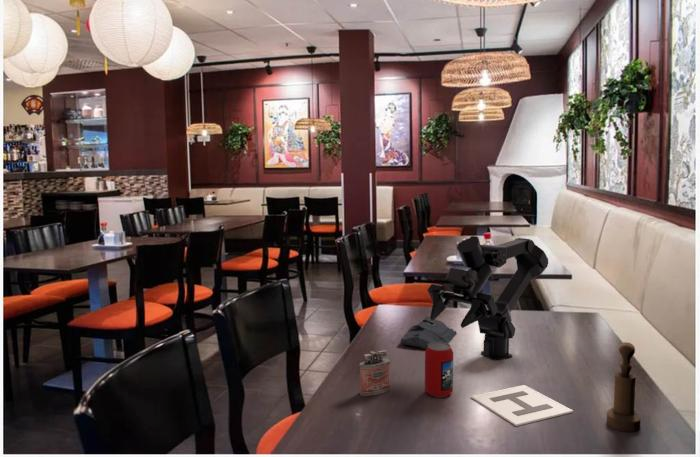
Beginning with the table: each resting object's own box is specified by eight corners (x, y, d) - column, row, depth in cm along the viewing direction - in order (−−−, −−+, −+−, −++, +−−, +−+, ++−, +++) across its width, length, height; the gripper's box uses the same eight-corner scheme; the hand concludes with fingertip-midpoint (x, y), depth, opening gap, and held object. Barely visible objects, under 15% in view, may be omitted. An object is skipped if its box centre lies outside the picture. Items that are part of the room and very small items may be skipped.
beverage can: (452, 400, 135) (453, 350, 133) (423, 397, 136) (424, 349, 135) (453, 388, 141) (453, 341, 140) (425, 386, 143) (426, 340, 141)
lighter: (363, 397, 137) (363, 356, 135) (357, 392, 140) (356, 352, 138) (392, 390, 140) (392, 351, 139) (385, 385, 143) (385, 347, 142)
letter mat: (524, 386, 142) (524, 384, 142) (573, 412, 128) (573, 410, 128) (471, 397, 136) (471, 395, 136) (516, 426, 121) (516, 423, 121)
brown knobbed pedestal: (600, 418, 125) (604, 338, 122) (628, 417, 125) (633, 337, 123) (617, 433, 118) (621, 348, 116) (646, 431, 119) (651, 347, 116)
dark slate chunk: (392, 347, 174) (392, 332, 173) (414, 327, 194) (414, 314, 193) (441, 354, 167) (441, 338, 167) (459, 332, 187) (459, 318, 187)
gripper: (435, 254, 155) (405, 294, 147) (497, 262, 142) (468, 307, 134) (448, 283, 161) (420, 323, 153) (508, 294, 148) (481, 338, 140)
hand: (446, 322), depth 145 cm, fingers open, 9 cm apart
